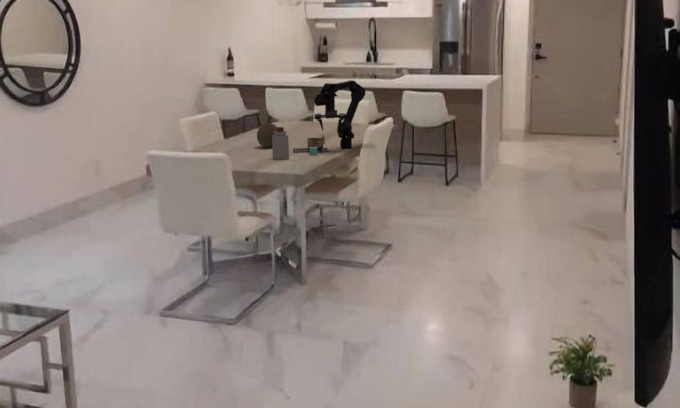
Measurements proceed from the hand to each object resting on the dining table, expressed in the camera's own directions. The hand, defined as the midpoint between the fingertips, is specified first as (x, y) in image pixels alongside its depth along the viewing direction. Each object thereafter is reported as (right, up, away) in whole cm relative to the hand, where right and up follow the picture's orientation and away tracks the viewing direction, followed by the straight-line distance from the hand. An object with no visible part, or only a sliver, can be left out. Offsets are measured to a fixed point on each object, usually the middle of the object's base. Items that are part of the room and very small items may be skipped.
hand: (330, 130), depth 451 cm
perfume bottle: (-28, -18, -19) cm, 39 cm away
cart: (-9, -11, +3) cm, 14 cm away
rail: (-12, -12, +3) cm, 17 cm away
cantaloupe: (-39, -9, +17) cm, 43 cm away
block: (-10, -15, -9) cm, 20 cm away
